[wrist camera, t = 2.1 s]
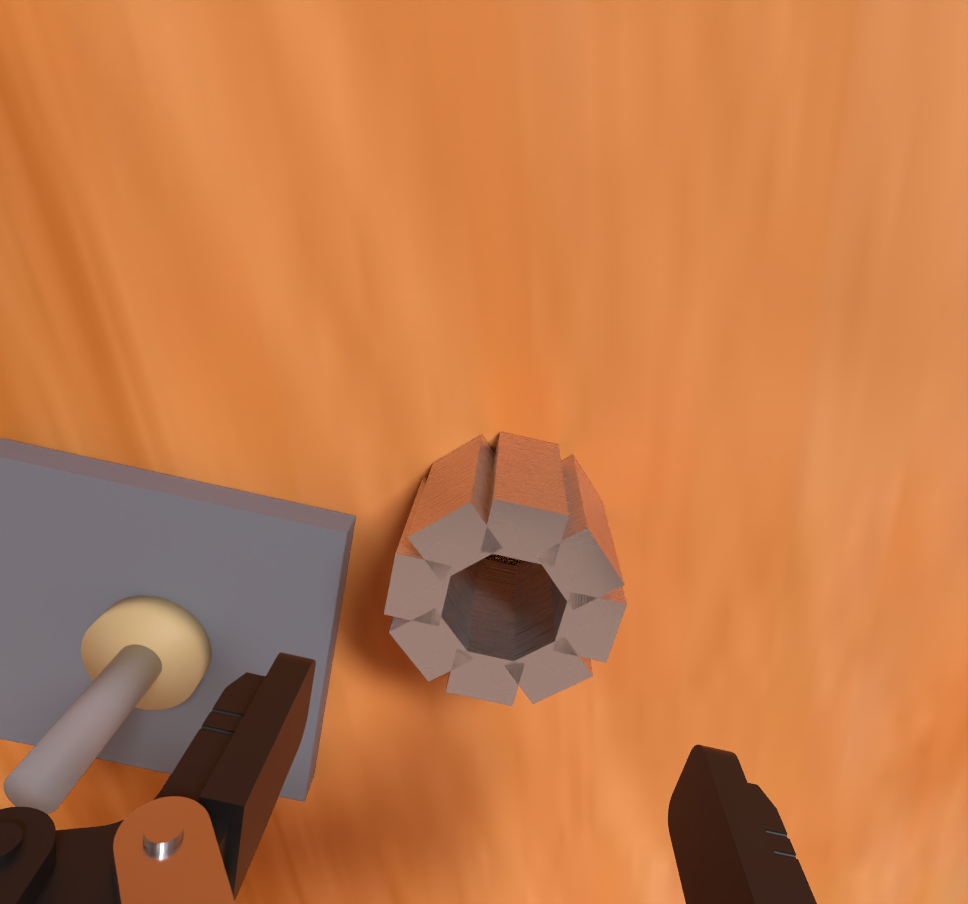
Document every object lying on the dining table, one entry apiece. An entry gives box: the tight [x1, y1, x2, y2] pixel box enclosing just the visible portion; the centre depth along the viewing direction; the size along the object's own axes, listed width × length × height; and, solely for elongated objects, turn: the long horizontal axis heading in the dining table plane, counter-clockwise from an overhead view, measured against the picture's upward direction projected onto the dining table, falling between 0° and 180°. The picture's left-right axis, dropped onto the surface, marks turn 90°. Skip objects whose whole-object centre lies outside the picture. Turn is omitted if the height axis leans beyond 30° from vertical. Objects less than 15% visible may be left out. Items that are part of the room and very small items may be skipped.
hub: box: [384, 432, 627, 706], centre depth 20 cm, size 6×6×5 cm
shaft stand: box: [0, 438, 356, 814], centre depth 21 cm, size 12×12×7 cm
